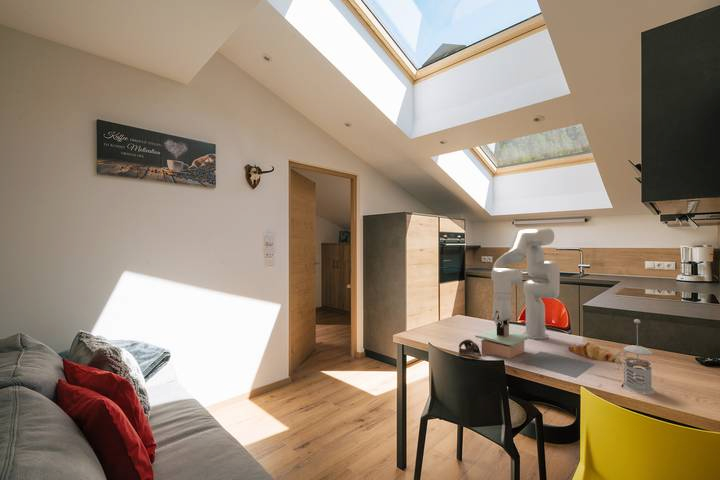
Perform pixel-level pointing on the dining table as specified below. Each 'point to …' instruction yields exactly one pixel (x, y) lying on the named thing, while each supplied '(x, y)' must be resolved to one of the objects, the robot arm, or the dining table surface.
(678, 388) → the dining table surface
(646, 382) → the french press
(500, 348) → the shallow wooden crate
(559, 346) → the dining table surface
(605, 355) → the croissant
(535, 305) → the robot arm
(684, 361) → the dining table surface
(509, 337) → the lid
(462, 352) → the brown napkin holder
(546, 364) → the mat
